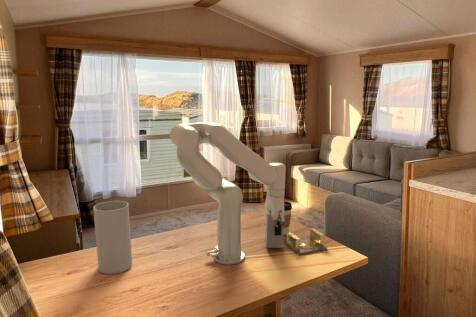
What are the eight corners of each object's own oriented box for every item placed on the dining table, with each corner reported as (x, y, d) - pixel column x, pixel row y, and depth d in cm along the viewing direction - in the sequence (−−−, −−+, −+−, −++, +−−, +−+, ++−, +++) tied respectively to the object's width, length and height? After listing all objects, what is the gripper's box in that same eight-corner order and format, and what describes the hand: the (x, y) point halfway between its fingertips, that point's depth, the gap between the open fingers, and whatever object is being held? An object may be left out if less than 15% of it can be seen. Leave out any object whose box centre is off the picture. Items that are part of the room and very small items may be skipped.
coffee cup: (271, 230, 175) (271, 201, 173) (286, 228, 178) (287, 199, 175) (278, 236, 168) (278, 206, 165) (294, 234, 170) (295, 204, 167)
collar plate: (298, 255, 148) (299, 241, 147) (283, 243, 160) (284, 230, 159) (327, 250, 153) (327, 236, 152) (310, 238, 165) (311, 226, 164)
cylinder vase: (138, 261, 144) (134, 202, 139) (120, 276, 132) (115, 212, 127) (111, 258, 147) (107, 199, 142) (91, 272, 135) (86, 209, 131)
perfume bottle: (282, 247, 152) (284, 207, 149) (266, 247, 152) (267, 206, 149) (280, 241, 159) (282, 202, 156) (265, 241, 159) (266, 202, 156)
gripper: (259, 187, 158) (257, 226, 161) (277, 198, 142) (275, 240, 145) (274, 186, 161) (272, 224, 164) (293, 196, 145) (291, 238, 148)
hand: (273, 231), depth 154 cm, fingers closed on perfume bottle, 6 cm apart
